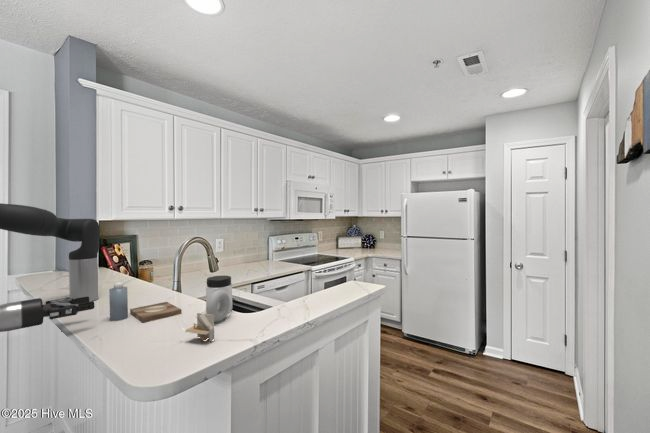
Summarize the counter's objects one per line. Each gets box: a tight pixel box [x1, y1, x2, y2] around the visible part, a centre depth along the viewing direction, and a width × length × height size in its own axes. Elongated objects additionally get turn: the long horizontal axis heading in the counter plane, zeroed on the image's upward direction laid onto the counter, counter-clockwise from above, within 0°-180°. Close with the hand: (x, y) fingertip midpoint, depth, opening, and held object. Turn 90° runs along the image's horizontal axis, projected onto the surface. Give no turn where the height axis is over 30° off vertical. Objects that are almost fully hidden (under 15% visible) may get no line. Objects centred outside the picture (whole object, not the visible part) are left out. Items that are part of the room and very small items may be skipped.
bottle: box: [108, 281, 129, 322], centre depth 102 cm, size 5×5×12 cm
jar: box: [205, 275, 233, 314], centre depth 108 cm, size 9×8×12 cm
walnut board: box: [129, 301, 182, 323], centre depth 107 cm, size 14×12×2 cm
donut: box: [205, 290, 230, 323], centre depth 98 cm, size 10×4×10 cm, turn 163°
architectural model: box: [184, 312, 215, 342], centre depth 83 cm, size 3×7×7 cm, turn 71°
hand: (91, 302), depth 97 cm, fingers open, 8 cm apart
